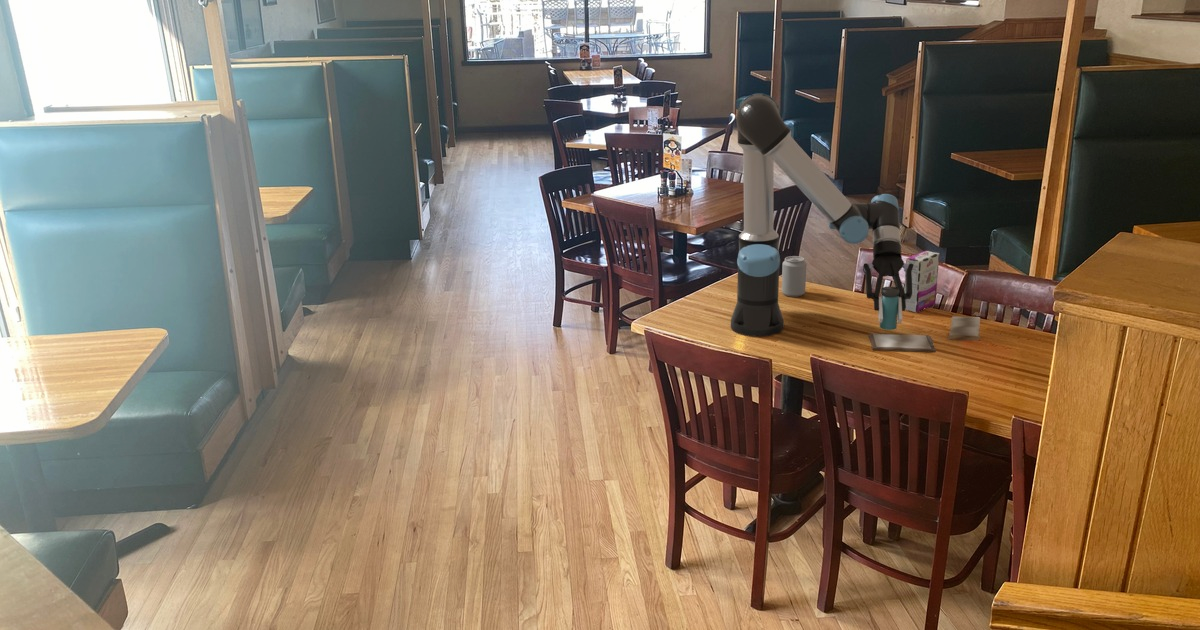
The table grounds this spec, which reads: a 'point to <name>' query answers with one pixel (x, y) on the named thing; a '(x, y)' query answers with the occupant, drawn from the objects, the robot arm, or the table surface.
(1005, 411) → the table surface
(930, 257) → the candy bar box
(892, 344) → the grey flat rectangular slab
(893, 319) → the teal lidded bottle
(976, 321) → the word sign
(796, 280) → the can
